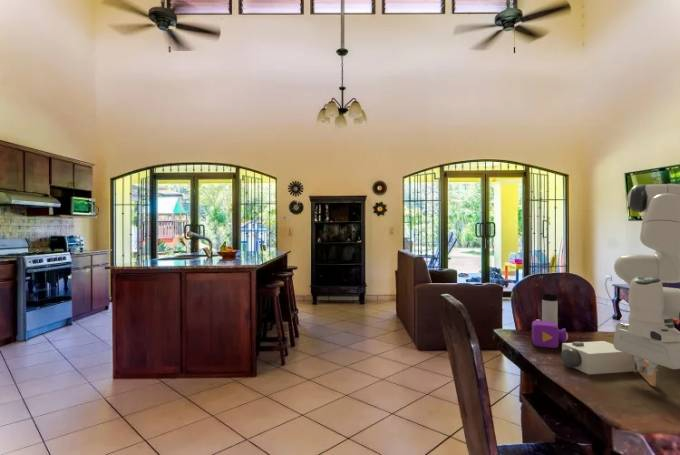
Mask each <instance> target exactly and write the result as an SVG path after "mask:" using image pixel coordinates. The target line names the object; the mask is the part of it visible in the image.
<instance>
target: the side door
mask: <svg viewBox="0 0 680 455" xmlns="http://www.w3.org/2000/svg"><path fill="white" fill-rule="evenodd" d="M642 361H643V364H644V366H646V367H647V368H648V366H649V365H650V364H648V361H647V360H642ZM634 370H635V371H637V373H639V375H641V376H642V377H643V378H644V380H646V382H647V383H648V384H649V385H650V386H652V387H657V385H656V384H659V369H658V368H657V367H656V368H655V369H654V374H653V375H647V374H645V373H642V372H640V371H638V365H637V364H636V362H635V360H634V359H633V371H634Z"/></svg>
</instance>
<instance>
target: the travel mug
mask: <svg viewBox="0 0 680 455" xmlns="http://www.w3.org/2000/svg"><path fill="white" fill-rule="evenodd" d="M541 294H542V295H541V296H542V299H541V321H548V322H554V323H556V325H557V326H558V325H559V324H558V319H559V318H558V313H559V312H558V308H559V306H558V305H559V304H558V303H559V302H558V294H554V293H553V294H551V293H548V292H546V293H545V292H542V293H541Z"/></svg>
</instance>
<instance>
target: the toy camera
mask: <svg viewBox="0 0 680 455" xmlns="http://www.w3.org/2000/svg"><path fill="white" fill-rule="evenodd" d="M566 329H567V328H565V327H564V328H562V329H559V327H558V326H557V325H556V323H554V322H548V321H542V320H541V319H535V320H533V321H532V322H531V340H532V343H533V345H534V346H535V347H541V348H549V349H557V348H558V347H559V341H560V342H561V343H567V340H568V339H569V335H568V332H567V330H566Z"/></svg>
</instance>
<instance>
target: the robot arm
mask: <svg viewBox="0 0 680 455" xmlns="http://www.w3.org/2000/svg"><path fill="white" fill-rule="evenodd" d="M626 200H627V204H628V206H629V208H630V209H631V211H633V212H635V213H636V212H637V213H640V214H641V213H643V216H642V221H641V229H640V235H639V240H640V242H641V244H642V245H643V246H645V247H647V248H648V249H651V250H653V251H655V252H654V254H625V255H621V256H619V257H618V258H617V259H616V260H615V261H614V264H613V265H614V266H613V268H614V272H615V274H616V275H617V276H618V278H619V279H620V280H622V281H624V282H625V283H626V284H627V285H628V286H629V291H628V304H627V305H628V307H629V314H628V318H627V319H628V320H627V323H624V322H619V323H617V324H616V325H615V330H614V335H613V343H612V344H613V346H614V348H615V349H616V350H619V351H622V352H624V353H627V354H630V355H633V356H634V359H633V361H634V360H635V362H636V364H637V365H638V371H640V372H642V373H645V374H647V375H653V374H654V369H655V368H656V369H657V366H658V365H659V366H661V367H665V368H667V369H670V370H680V331H679V330H678V329H677V328H675V324H676V325H679V324H680V288H678V287H677V288H676V287H668V286H667V287H666V286H663V283H668V284H669V283H670V284H676V283H677V284H678V283H680V183H657V184H655V183H654V184H652V183H651V184H645V183H643V184H636V185H633V187H631V189H630V190H629V192H628V193H627V199H626ZM642 360H647V361H648V364H650V365H649V366H648V368H647V367H646V366H644V364H643V361H642ZM638 371H637V372H638Z"/></svg>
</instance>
